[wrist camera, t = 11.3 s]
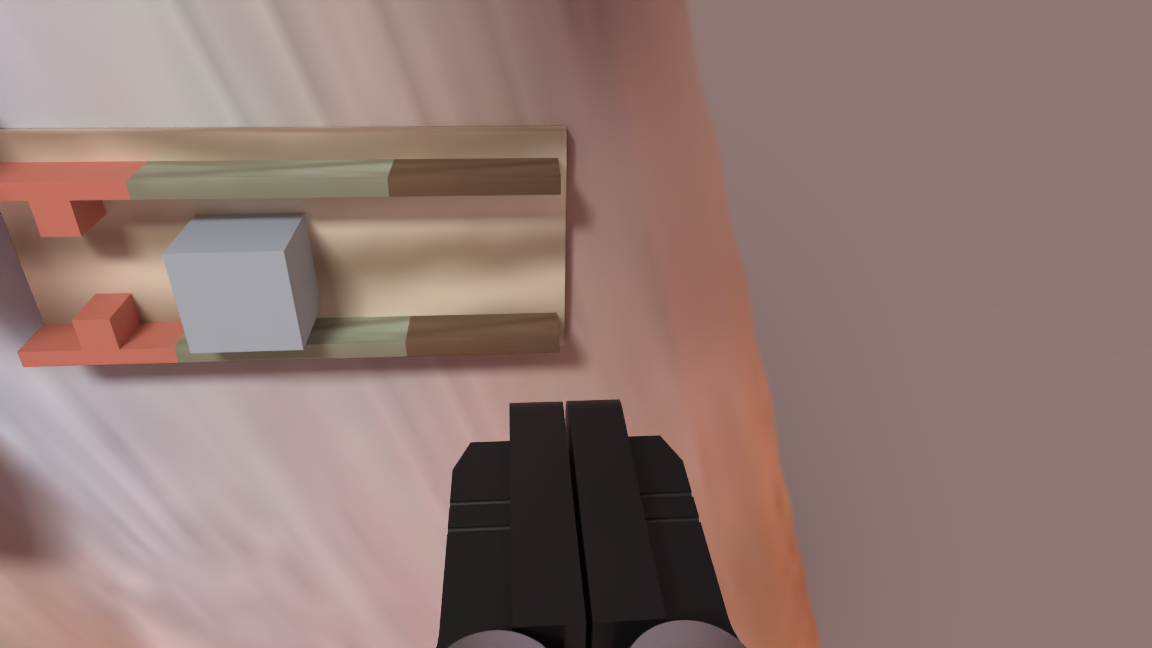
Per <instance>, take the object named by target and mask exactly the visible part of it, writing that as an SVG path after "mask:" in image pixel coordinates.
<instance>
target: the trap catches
mask: <svg viewBox="0 0 1152 648" xmlns="http://www.w3.org/2000/svg"><path fill="white" fill-rule="evenodd" d="M147 162H148V161H108V162H0V201H28V202H29V205H30V208H31V210H32V213H33V216H34V219H35V221H36V224H37V227H38V230H39V232H40V235H41V237H82V236H83V235H84V234H85V233H86V232H87V231H88V230H89V229H90V228H91V227H93V226H94V225H95V224H96V223H97V222H98V221H99V220H100V219H101V218H102V217H104V216H105V215H106V211H105V208H104V204H103V201H102V200H131V198H130V195H129V191H128V188H127V185H126V180H127V179H129V178H130V177H131V176H132V175H133V174H134V173H136V172H137V171H138V170H139V169H140V168H141V167H142V166H144V165H145V164H146V163H147ZM72 323H73V324H50V325H43V326H42V327H41V328H40V329H39V330H38V331H37V332H36V333H35V334H34V335H33V337H32V338H31V339H30V340H29V341H28V342H27V343H26V344H25V345H24V346H23V347H22V348H21V349H20V350H19V351H18V352H17V353H18V355H19V357H20V360H21V362H22V365H23V367H38V366H75V365H111V364H148V363H178V360H177V356H176V353H175V349H174V348H175V346H176V345H177V343H178V342H179V340H180V339H181V337H182V336H183V334H184V333H185V332H184V329H183V325H182V322H181V321H178V322H140V320H139V317H138V313H137V310H136V307H135V304H134V301H133V297H132V294H131V293H113V294H95V295H94V296H93V297H92V298H91V299H90V300H89V301H88V303H87V304H86V305H85V306H84V307H83V308H82V309H81V310H80V311H79V312H78V313H77V314H76V316H75V317H74V318H73V319H72Z"/></svg>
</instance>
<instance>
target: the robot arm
mask: <svg viewBox="0 0 1152 648" xmlns="http://www.w3.org/2000/svg"><path fill="white" fill-rule="evenodd" d="M436 648H746V647H745V646H744V645H743V643H742V642H740V640H739V639H738V637H737V636H736V634H735V632H734V630H733V629H732V626H731V624H730V621H729V618H728V615H727V612H726V608H725V605H724V601H723V598H722V595H721V591H720V588H719V584H718V581H717V577H716V574H715V570H714V567H713V564H712V560H711V557H710V553H709V550H708V546H707V543H706V539H705V536H704V533H703V529H702V526H701V522H699V515H698V512H697V509H696V505H695V502H694V498H693V497H692V495H691V488H690V484H689V481H688V478H687V474H686V471H685V467H684V464H683V461H682V460H681V458H680V457H679V456H678V455H677V454H676V453H675V452H674V451H673V450H672V448H671V447H670V446H669V445H668V444H667V443H666V442H665V441H664V440H663V438H662V437H661V436H633V437H628V434H627V429H626V424H625V419H624V415H623V410H622V405H621V402H620V400H587V401H567V402H566V414H565V418H564V409H563V402H531V403H510V441H499V442H471V443H470V444H469V446H468V447H467V449H466V451H465V452H464V454H463V455H462V457H461V458H460V460H459V461H458V463H457V464H456V466H455V467H454V469H453V472H452V484H451V496H450V509H449V521H448V534H447V545H446V557H445V569H444V581H443V593H442V606H441V618H440V630H439V638H438V644H437V647H436Z"/></svg>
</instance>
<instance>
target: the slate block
mask: <svg viewBox="0 0 1152 648" xmlns="http://www.w3.org/2000/svg"><path fill="white" fill-rule="evenodd" d="M162 256H163V259H164V263H165V266H166V270H167V273H168V277H169V280H170V284H171V287H172V290H173V294H174V297H175V301H176V304H177V308H178V311H179V315H180V318H181V322H182V325H183V329H184V332H185V336H186V339H187V343H188V346H189V350H190V353H221V352H252V351H284V350H304V347H305V345H306V342H307V340H308V337H309V335H310V332H311V330H312V327H313V325H314V322H315V320H316V317H317V315H318V312H319V310H320V307H321V300H320V294H319V289H318V283H317V277H316V272H315V266H314V260H313V255H312V249H311V244H310V238H309V232H308V227H307V221H306V215H305V213H260V214H207V215H195V216H194V217H193V218H192V219H191V220H190V222H189V223H188V224H187V225H186V226H185V227H184V229H183V230H182V231H181V232H180V233H179V234H178V236H177V237H176V238H175V239H174V240H173V241H172V243H171V244H170V245H169V246H168V247H167V249H166V250H165V251H164V252H163V253H162Z"/></svg>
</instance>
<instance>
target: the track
mask: <svg viewBox="0 0 1152 648" xmlns="http://www.w3.org/2000/svg"><path fill="white" fill-rule="evenodd" d="M108 161H148V162H147V163H146V164H145V165H144V166H142V167H141V168H140V169H139V170H138V171H137V172H136V173H134V174H133V175H132V176H131V177H130V178H129V179H127V180H126V185H127V188H128V191H129V195H130V198H131V200H102V201H103V204H104V208H105V211H106V215H105V216H104V217H102V218H101V219H100V220H99V221H98V222H97V223H96V224H95V225H94V226H93V227H91V228H90V229H89V230H88V231H87V232H86V233H85V234H84V235H83V236H82V237H41V235H40V232H39V230H38V227H37V224H36V221H35V219H34V216H33V213H32V210H31V208H30V205H29V202H28V201H0V212H1V214H2V217H3V220H4V222H5V225H6V227H7V230H8V233H9V235H10V238H11V240H12V243H13V245H14V248H15V251H16V253H17V256H18V258H19V261H20V264H21V266H22V269H23V271H24V274H25V277H26V279H27V282H28V284H29V287H30V289H31V292H32V295H33V297H34V300H35V302H36V305H37V308H38V310H39V313H40V315H41V318H42V321H43V323H44V325H50V324H73V323H72V319H73V318H74V317H75V316H76V314H77V313H78V312H79V311H80V310H81V309H82V308H83V307H84V306H85V305H86V304H87V303H88V301H89V300H90V299H91V298H92V297H93V296H94V295H95V294H113V293H131V294H132V297H133V301H134V304H135V307H136V310H137V313H138V317H139V320H140V322H178V321H181V318H180V315H179V311H178V308H177V304H176V301H175V297H174V294H173V290H172V287H171V284H170V280H169V277H168V273H167V270H166V266H165V263H164V259H163V256H162V253H163V252H164V251H165V250H166V249H167V247H168V246H169V245H170V244H171V243H172V241H173V240H174V239H175V238H176V237H177V236H178V234H179V233H180V232H181V231H182V230H183V229H184V227H185V226H186V225H187V224H188V223H189V222H190V220H191V219H192V218H193V217H194V216H195V215H207V214H260V213H305V215H306V221H307V227H308V232H309V238H310V244H311V249H312V255H313V260H314V266H315V272H316V277H317V283H318V289H319V294H320V300H321V307H320V310H319V312H318V315H317V317H316V320H315V322H314V325H313V327H312V330H311V332H310V335H309V337H308V340H307V342H306V345H305V347H304V350H284V351H252V352H221V353H190V350H189V346H188V343H187V339H186V336H185V333H184V334H183V336H182V337H181V339H180V340H179V342H178V343H177V345H176V346H175V348H174V349H175V353H176V356H177V360H178V363H184V362H221V361H257V360H293V359H330V358H366V357H403V356H439V355H476V354H512V353H548V352H559V346H564V316H565V238H566V161H567V130H566V126H451V127H253V128H55V129H0V162H108Z"/></svg>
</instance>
